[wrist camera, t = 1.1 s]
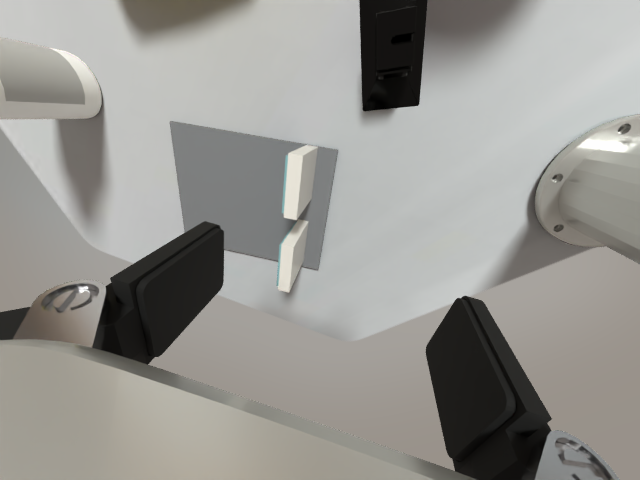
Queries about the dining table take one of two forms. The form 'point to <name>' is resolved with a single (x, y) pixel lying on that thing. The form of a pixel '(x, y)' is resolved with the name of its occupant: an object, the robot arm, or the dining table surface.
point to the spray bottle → (45, 83)
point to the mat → (247, 189)
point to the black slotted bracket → (391, 52)
